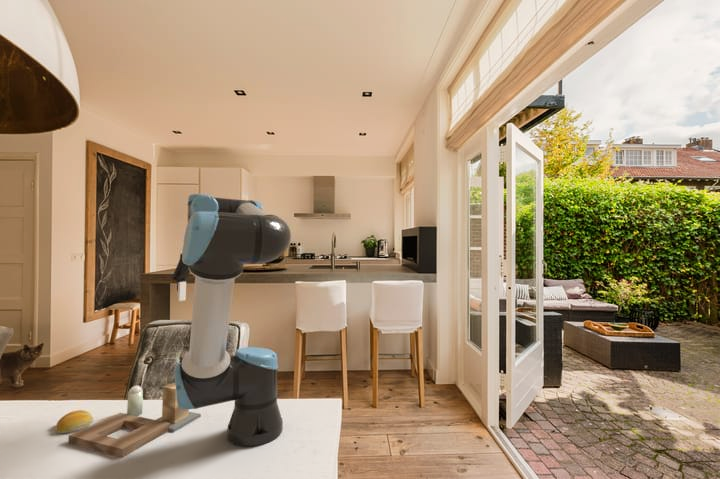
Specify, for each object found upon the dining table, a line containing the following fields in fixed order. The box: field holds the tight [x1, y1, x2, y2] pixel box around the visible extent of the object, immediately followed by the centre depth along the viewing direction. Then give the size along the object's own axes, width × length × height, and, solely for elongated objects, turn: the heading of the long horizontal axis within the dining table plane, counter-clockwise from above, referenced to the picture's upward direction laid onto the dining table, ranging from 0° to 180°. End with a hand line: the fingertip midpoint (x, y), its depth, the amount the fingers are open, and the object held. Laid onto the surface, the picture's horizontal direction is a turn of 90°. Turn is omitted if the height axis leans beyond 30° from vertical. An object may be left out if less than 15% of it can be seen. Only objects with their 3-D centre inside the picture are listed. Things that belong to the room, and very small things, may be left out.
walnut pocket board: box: [67, 412, 170, 458], centre depth 94 cm, size 20×14×2 cm
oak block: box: [161, 381, 190, 424], centre depth 103 cm, size 5×5×10 cm
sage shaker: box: [126, 385, 144, 417], centre depth 107 cm, size 4×4×9 cm
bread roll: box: [55, 409, 94, 434], centre depth 99 cm, size 8×9×4 cm
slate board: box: [155, 411, 202, 433], centre depth 102 cm, size 10×10×1 cm
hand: (197, 301), depth 115 cm, fingers open, 13 cm apart
